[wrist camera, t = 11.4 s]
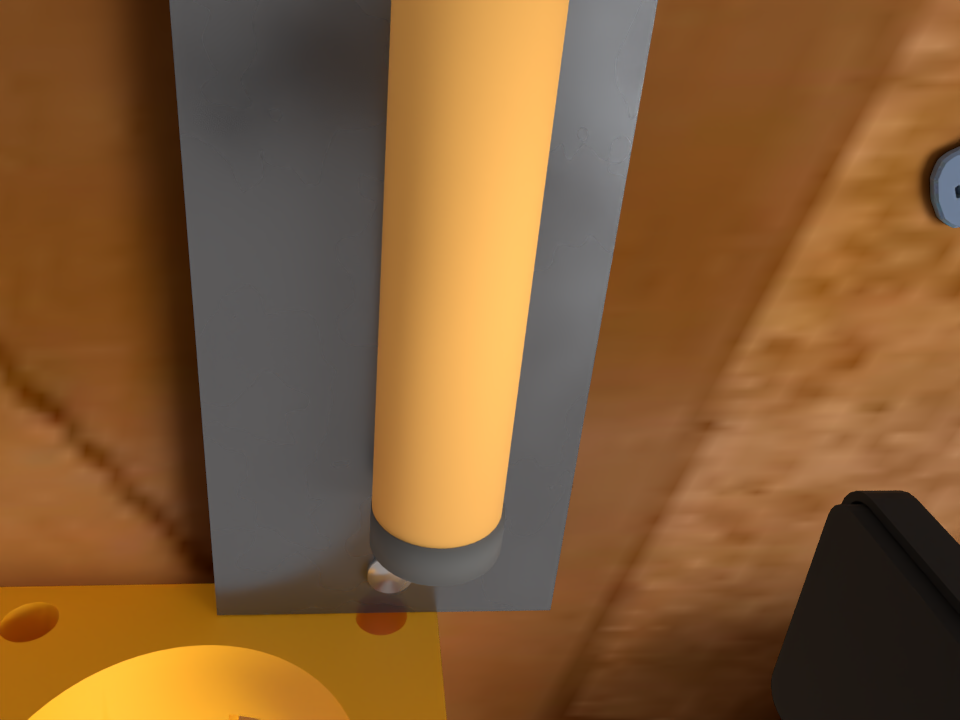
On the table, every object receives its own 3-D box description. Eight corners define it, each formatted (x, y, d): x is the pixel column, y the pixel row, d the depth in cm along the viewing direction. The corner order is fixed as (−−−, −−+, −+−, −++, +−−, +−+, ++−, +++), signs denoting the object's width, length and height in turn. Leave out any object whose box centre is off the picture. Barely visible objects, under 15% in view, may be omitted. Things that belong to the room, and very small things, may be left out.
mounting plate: (147, -492, 13) (125, -530, 12) (707, -404, 14) (737, -429, 13) (223, 583, 24) (215, 621, 22) (542, 579, 25) (551, 615, 24)
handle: (356, -179, 13) (489, -175, 11) (501, -156, 15) (636, -149, 13) (343, 529, 20) (425, 607, 18) (444, 483, 22) (528, 549, 20)
